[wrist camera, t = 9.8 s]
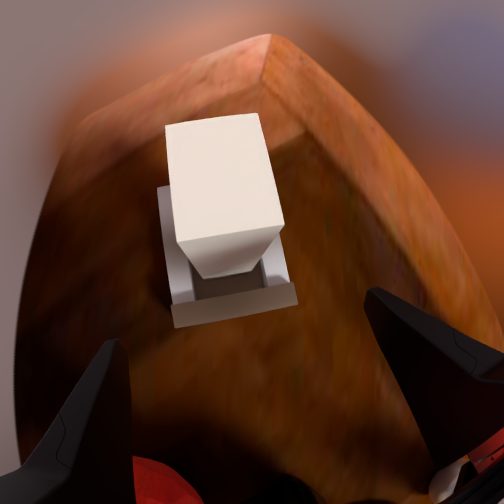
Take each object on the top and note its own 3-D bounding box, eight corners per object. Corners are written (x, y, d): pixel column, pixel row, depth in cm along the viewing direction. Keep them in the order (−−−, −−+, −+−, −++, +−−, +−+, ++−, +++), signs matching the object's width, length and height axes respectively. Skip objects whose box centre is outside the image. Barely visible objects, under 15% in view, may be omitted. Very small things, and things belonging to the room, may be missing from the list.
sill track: (289, 304, 23) (302, 303, 19) (179, 325, 22) (170, 329, 18) (262, 185, 24) (269, 163, 20) (161, 202, 23) (149, 182, 19)
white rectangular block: (249, 273, 22) (284, 224, 9) (204, 280, 22) (176, 242, 9) (239, 217, 23) (257, 112, 10) (195, 224, 22) (165, 125, 10)
